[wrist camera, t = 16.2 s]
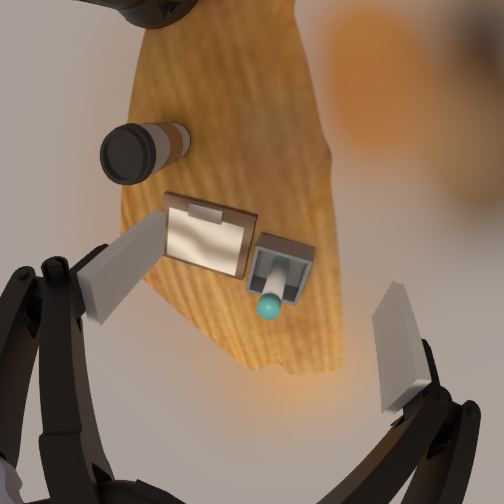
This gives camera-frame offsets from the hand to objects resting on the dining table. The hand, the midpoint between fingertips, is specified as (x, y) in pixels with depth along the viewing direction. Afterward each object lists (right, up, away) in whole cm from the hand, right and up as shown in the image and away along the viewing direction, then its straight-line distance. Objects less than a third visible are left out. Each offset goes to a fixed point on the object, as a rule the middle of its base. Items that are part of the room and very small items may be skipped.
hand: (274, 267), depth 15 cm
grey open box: (+4, -1, +35) cm, 35 cm away
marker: (+4, -1, +35) cm, 35 cm away
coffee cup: (-14, +20, +29) cm, 38 cm away
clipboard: (-10, +4, +36) cm, 37 cm away
